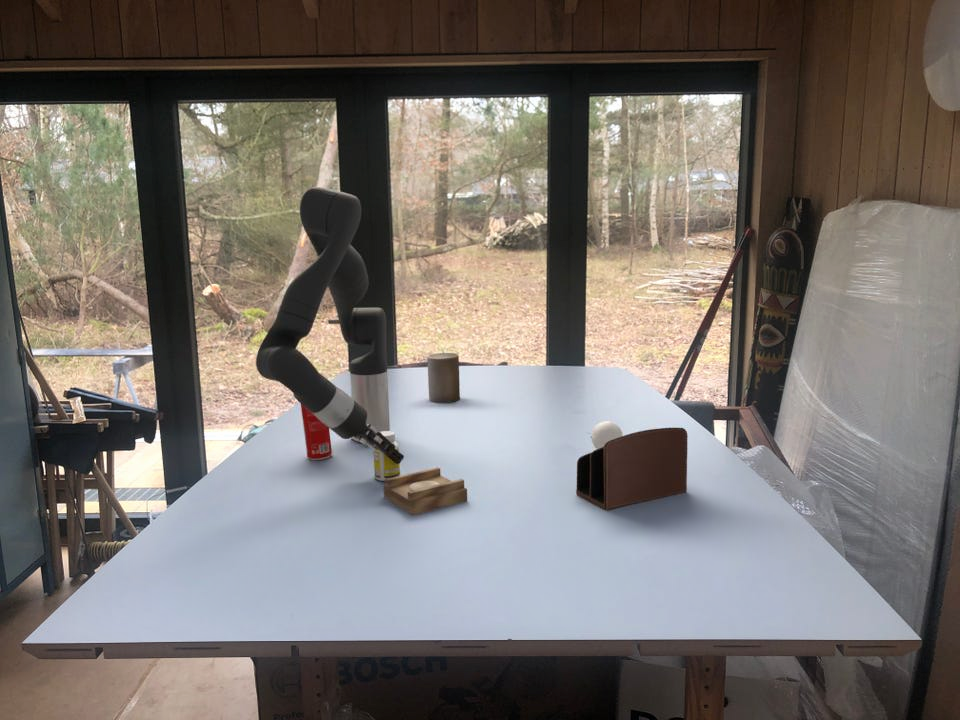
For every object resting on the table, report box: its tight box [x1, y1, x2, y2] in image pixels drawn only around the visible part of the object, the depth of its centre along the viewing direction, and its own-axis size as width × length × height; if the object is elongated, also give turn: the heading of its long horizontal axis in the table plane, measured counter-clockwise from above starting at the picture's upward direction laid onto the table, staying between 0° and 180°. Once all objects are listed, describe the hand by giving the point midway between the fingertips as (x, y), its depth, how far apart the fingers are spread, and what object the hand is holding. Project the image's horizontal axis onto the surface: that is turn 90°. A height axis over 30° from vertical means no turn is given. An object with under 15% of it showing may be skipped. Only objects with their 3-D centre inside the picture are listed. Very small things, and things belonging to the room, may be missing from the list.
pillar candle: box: [426, 351, 461, 404], centre depth 232 cm, size 10×10×15 cm
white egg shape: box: [588, 420, 624, 450], centre depth 177 cm, size 10×7×7 cm
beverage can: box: [300, 403, 333, 461], centre depth 177 cm, size 6×6×15 cm
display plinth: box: [383, 466, 468, 516], centre depth 149 cm, size 12×12×4 cm
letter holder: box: [575, 427, 689, 511], centre depth 149 cm, size 10×20×14 cm, turn 117°
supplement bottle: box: [372, 430, 401, 482], centre depth 162 cm, size 5×5×10 cm
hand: (393, 456), depth 163 cm, fingers closed on supplement bottle, 5 cm apart
